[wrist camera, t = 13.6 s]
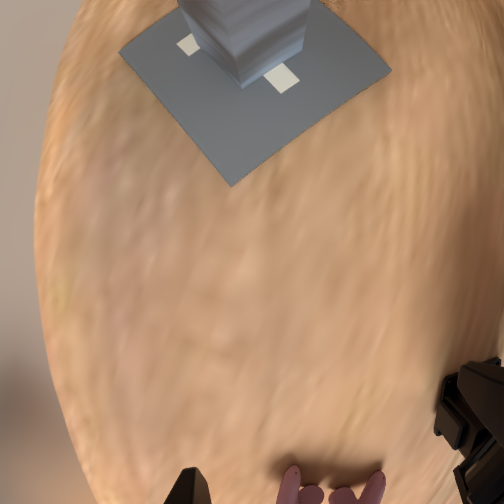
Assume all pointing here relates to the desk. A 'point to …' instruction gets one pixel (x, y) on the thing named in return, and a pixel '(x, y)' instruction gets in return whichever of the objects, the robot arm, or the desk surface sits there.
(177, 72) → the board
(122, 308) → the desk surface
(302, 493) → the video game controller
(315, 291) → the desk surface
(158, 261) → the desk surface
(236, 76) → the grey rectangular block
